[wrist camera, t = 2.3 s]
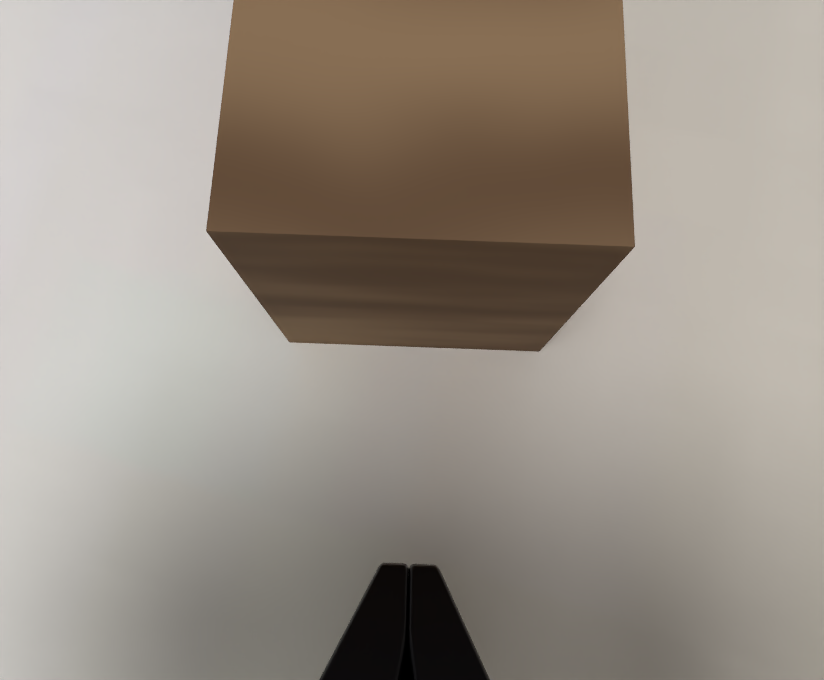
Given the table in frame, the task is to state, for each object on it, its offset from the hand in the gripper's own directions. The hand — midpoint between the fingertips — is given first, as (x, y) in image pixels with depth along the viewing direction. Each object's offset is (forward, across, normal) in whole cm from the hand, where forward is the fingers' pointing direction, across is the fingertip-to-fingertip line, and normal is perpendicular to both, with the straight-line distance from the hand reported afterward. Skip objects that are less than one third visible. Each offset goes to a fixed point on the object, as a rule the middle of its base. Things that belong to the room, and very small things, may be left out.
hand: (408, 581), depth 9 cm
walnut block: (+16, 0, -2) cm, 16 cm away
